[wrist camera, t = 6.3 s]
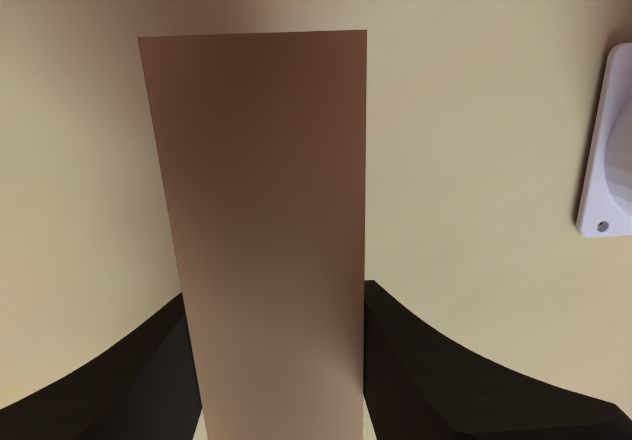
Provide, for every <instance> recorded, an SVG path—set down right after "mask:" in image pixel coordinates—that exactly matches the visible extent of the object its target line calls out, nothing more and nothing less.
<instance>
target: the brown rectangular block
mask: <svg viewBox="0 0 632 440" xmlns="http://www.w3.org/2000/svg"><path fill="white" fill-rule="evenodd" d="M138 42H139V48H140V53H141V59H142V65H143V71H144V76H145V82H146V88H147V93H148V99H149V105H150V111H151V116H152V122H153V128H154V133H155V139H156V145H157V151H158V156H159V162H160V168H161V173H162V179H163V185H164V191H165V196H166V202H167V208H168V214H169V219H170V225H171V231H172V236H173V242H174V248H175V254H176V259H177V265H178V271H179V276H180V282H181V288H182V294H183V299H184V305H185V311H186V316H187V322H188V328H189V334H190V339H191V345H192V351H193V356H194V362H195V368H196V374H197V379H198V385H199V391H200V396H201V402H202V408H203V414H204V419H205V425H206V431H207V436H208V440H363V362H364V264H365V166H366V69H367V30H342V31H312V32H282V33H252V34H222V35H192V36H162V37H138Z"/></svg>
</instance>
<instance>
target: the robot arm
mask: <svg viewBox="0 0 632 440" xmlns="http://www.w3.org/2000/svg"><path fill="white" fill-rule="evenodd" d="M601 222H603V223H602V225H601V227H600V228H598V229H597V226H598V224H599V223H601ZM576 230H577V232H578V233H579V234H581V235H583V236H584V237H605V236H621V235H632V42H631V43H621V44H618V45H616V46H615V47H613V48H612V50H611V51H610V52H609V55H608V58H607V64H606V69H605V74H604V79H603V85H602V90H601V95H600V101H599V106H598V111H597V116H596V122H595V127H594V132H593V138H592V143H591V148H590V153H589V159H588V164H587V169H586V175H585V180H584V185H583V190H582V196H581V201H580V206H579V212H578V217H577V222H576ZM363 395H364V398H365V401H366V405H367V408H368V411H369V415H370V418H371V421H372V424H373V428H374V431H375V434H376V438H377V440H632V420H631V419H630V418H629V417H628V416H627V415H626V414H625V413H624V412H623V411H622V410H621V409H620V408H619V407H618V406H617V405H616V404H613V403H610V402H606V401H603V400H600V399H596V398H593V397H589V396H586V395H583V394H579V393H576V392H572V391H569V390H565V389H562V388H559V387H556V386H553V385H550V384H548V383H545V382H542V381H539V380H537V379H534V378H531V377H528V376H526V375H523V374H521V373H518V372H516V371H513V370H511V369H508V368H506V367H504V366H502V365H500V364H497V363H495V362H493V361H491V360H489V359H487V358H484V357H482V356H480V355H478V354H476V353H474V352H473V351H471V350H469V349H467V348H465V347H463V346H462V345H460V344H458V343H456V342H455V341H453V340H451V339H449V338H448V337H446V336H445V335H443V334H441V333H440V332H438V331H437V330H435V329H434V328H433V327H431V326H430V325H428V324H427V323H425V322H424V321H422V320H421V319H420V318H418V317H417V316H416V315H414V314H413V313H412V312H411V311H409V310H408V309H407V308H406V307H404V306H403V305H402V304H401V303H399V302H398V301H397V300H396V299H395V298H394V297H392V296H391V295H390V294H389V293H388V292H387V291H386V290H384V289H383V288H382V287H381V286H380V285H379V284H378V283H376V282H375V281H374V280H366V281H364V362H363ZM201 410H202V402H201V396H200V391H199V385H198V379H197V374H196V368H195V362H194V356H193V351H192V345H191V339H190V334H189V328H188V322H187V316H186V311H185V305H184V299H183V294H182V293H180V294H179V295H177V296H176V297H175V298H173V299H172V300H171V301H170V302H168V303H167V304H166V305H165V306H164V307H162V308H161V309H160V310H159V311H157V312H156V313H155V314H154V315H153V316H151V317H150V318H149V319H148V320H146V321H145V322H144V323H143V324H141V325H140V326H139V327H138V328H136V329H135V330H134V331H132V332H131V333H130V334H128V335H127V336H125V337H124V338H123V339H121V340H120V341H119V342H117V343H116V344H114V345H113V346H112V347H110V348H109V349H108V350H106V351H105V352H103V353H102V354H100V355H99V356H97V357H96V358H94V359H93V360H91V361H90V362H88V363H87V364H85V365H83V366H82V367H80V368H78V369H77V370H75V371H73V372H72V373H70V374H68V375H67V376H65V377H63V378H61V379H60V380H58V381H56V382H54V383H52V384H50V385H48V386H46V387H44V388H42V389H41V390H39V391H37V392H35V393H33V394H31V395H29V396H27V397H25V398H23V399H21V400H19V401H17V402H15V403H13V404H11V405H9V406H7V407H5V408H3V409H0V440H193V436H194V433H195V430H196V426H197V423H198V420H199V417H200V413H201Z"/></svg>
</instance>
